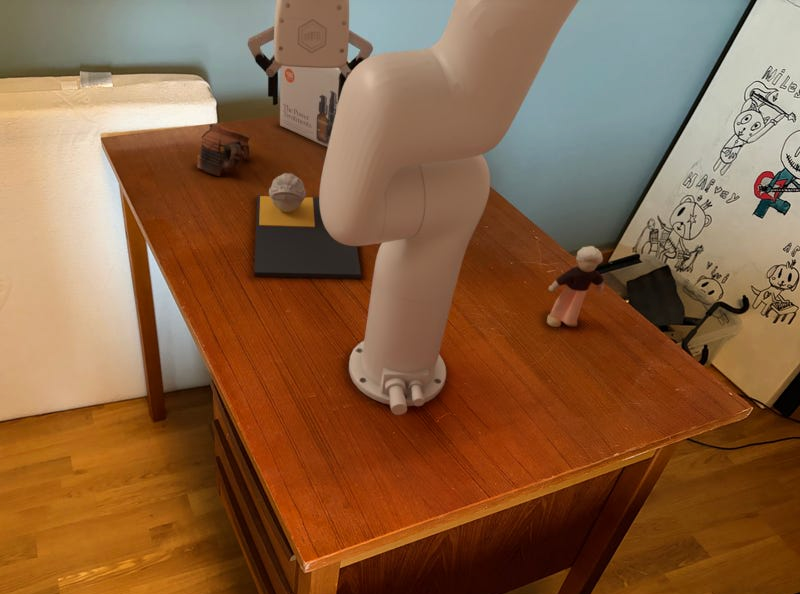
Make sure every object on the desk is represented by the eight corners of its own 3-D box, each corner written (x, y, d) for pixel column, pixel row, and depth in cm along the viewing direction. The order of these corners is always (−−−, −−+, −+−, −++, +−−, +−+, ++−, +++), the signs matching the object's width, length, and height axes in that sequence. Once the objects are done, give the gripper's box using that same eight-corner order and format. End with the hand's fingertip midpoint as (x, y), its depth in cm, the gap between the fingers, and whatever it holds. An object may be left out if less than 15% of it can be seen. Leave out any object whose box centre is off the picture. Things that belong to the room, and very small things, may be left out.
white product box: (277, 127, 140) (278, 45, 129) (295, 119, 143) (298, 38, 132) (359, 164, 130) (368, 79, 120) (376, 154, 134) (387, 71, 123)
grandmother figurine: (547, 332, 98) (576, 259, 89) (534, 315, 100) (561, 242, 92) (595, 326, 100) (627, 253, 91) (581, 309, 102) (611, 236, 94)
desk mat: (360, 278, 104) (361, 273, 104) (254, 276, 103) (254, 271, 103) (349, 202, 120) (350, 197, 120) (257, 199, 119) (257, 194, 118)
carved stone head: (267, 220, 113) (267, 182, 108) (270, 198, 118) (270, 160, 113) (304, 223, 113) (306, 185, 108) (306, 201, 118) (308, 163, 113)
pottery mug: (185, 163, 128) (197, 118, 125) (229, 176, 133) (241, 133, 131) (212, 176, 119) (225, 128, 116) (258, 190, 124) (272, 144, 122)
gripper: (245, -24, 86) (248, 111, 98) (383, -17, 87) (369, 115, 99) (247, -39, 92) (249, 90, 103) (376, -33, 93) (364, 94, 104)
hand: (308, 102), depth 101 cm, fingers open, 9 cm apart
